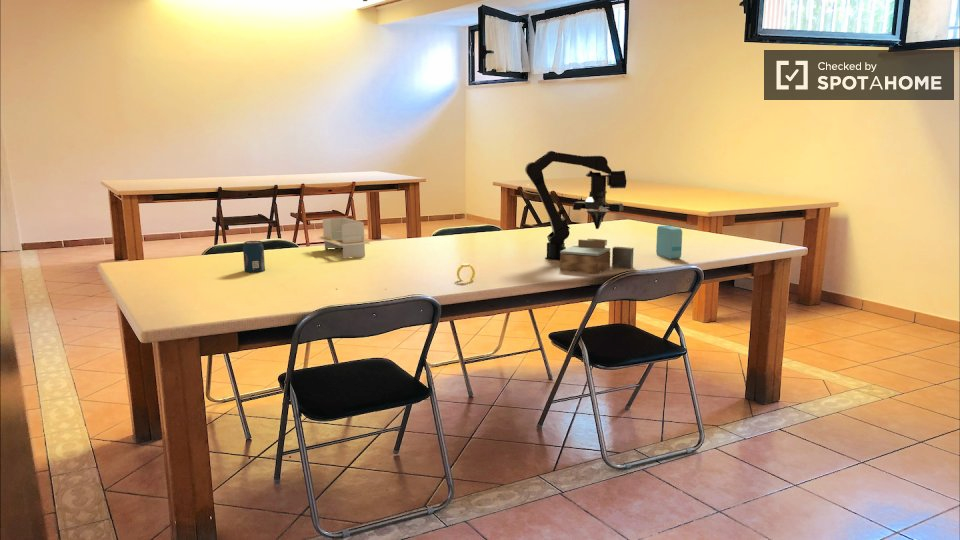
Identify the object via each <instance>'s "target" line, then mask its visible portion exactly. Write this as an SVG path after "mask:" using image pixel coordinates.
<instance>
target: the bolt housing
mask: <svg viewBox="0 0 960 540" xmlns="http://www.w3.org/2000/svg"><path fill="white" fill-rule="evenodd" d="M634 250H635V247H625V246H613V247H612V250H611V251H612V252H611V253H612V254H611V255H612V256H611V259H612V260H611V267H612V268H619V269H621V268H622V269H632V268H633V267H634Z"/></svg>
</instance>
